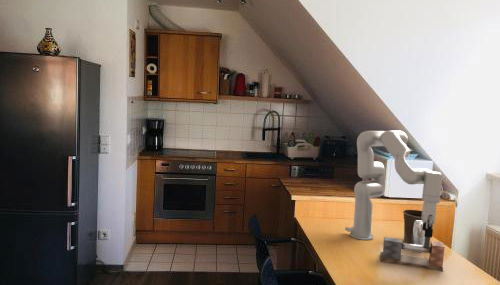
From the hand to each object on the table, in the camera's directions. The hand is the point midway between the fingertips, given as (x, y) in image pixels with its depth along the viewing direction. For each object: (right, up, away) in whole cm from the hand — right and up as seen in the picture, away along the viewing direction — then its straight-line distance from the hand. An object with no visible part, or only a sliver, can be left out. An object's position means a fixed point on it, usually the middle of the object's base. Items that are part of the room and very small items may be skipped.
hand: (426, 233), depth 189 cm
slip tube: (-5, -9, +2) cm, 10 cm away
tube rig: (-7, -14, +3) cm, 16 cm away
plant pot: (+9, -12, +34) cm, 37 cm away
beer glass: (+5, -13, +20) cm, 25 cm away
